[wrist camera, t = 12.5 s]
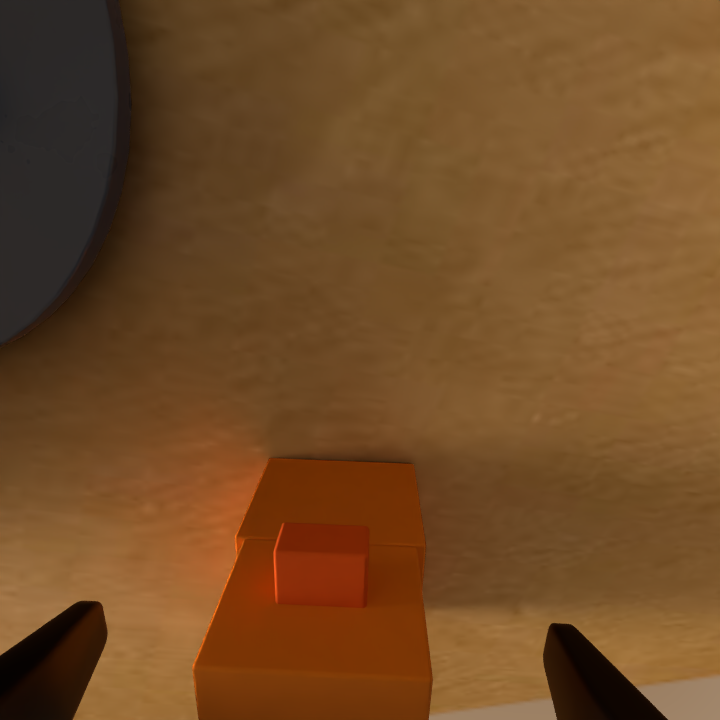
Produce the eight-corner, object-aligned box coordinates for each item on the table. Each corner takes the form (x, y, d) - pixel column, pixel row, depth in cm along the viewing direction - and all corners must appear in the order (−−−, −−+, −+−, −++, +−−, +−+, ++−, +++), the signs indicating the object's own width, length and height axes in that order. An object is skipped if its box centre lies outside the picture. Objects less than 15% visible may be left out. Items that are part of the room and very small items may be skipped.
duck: (403, 609, 14) (422, 886, 8) (275, 603, 14) (205, 873, 8) (416, 426, 12) (454, 623, 6) (267, 421, 12) (168, 610, 6)
